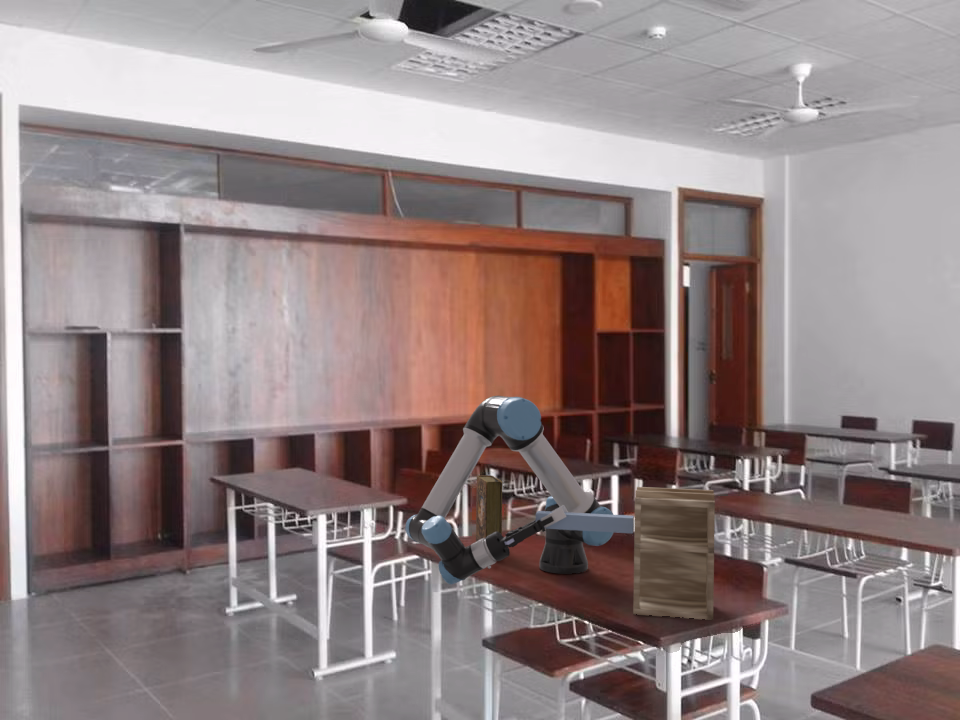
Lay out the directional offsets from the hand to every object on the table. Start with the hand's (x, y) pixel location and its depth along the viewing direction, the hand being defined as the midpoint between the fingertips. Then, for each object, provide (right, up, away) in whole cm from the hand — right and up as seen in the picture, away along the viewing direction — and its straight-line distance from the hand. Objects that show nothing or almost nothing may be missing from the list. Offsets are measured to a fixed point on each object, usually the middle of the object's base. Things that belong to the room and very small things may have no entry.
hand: (564, 510), depth 242 cm
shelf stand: (+28, -25, -6) cm, 38 cm away
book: (-20, -24, +61) cm, 69 cm away
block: (+5, -5, -1) cm, 7 cm away
